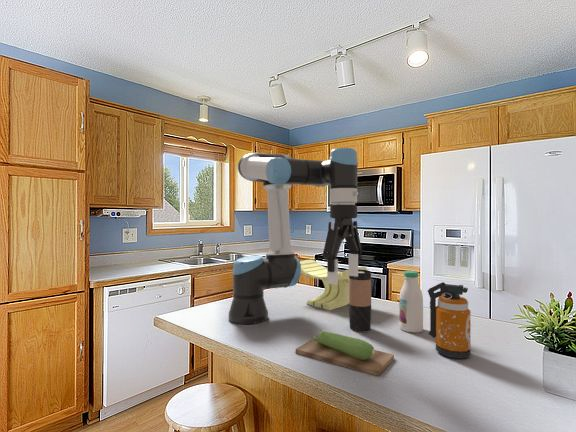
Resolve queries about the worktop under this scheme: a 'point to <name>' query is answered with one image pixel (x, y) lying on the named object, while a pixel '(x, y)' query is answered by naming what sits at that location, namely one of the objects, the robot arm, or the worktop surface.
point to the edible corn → (346, 345)
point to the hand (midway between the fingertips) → (343, 279)
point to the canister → (450, 320)
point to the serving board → (346, 358)
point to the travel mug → (360, 301)
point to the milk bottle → (411, 304)
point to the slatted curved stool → (328, 285)
